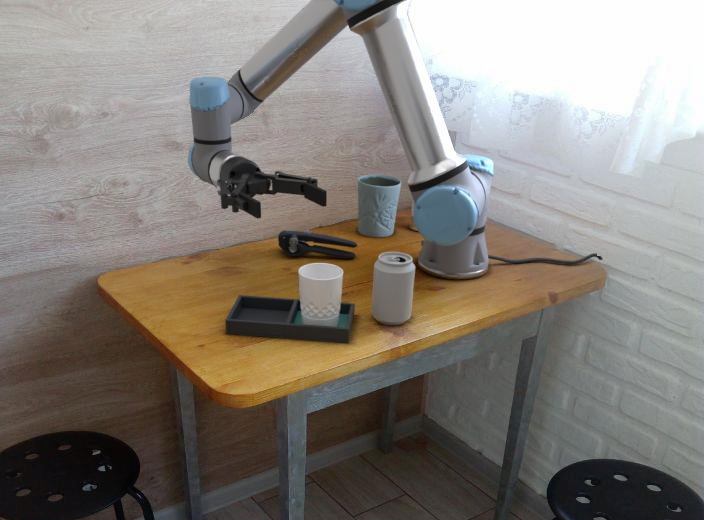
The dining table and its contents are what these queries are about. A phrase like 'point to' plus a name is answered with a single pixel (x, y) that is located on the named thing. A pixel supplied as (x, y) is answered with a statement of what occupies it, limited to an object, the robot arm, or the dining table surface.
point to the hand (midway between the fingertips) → (292, 204)
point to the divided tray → (284, 320)
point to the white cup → (320, 293)
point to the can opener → (297, 245)
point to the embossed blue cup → (377, 204)
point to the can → (393, 288)
